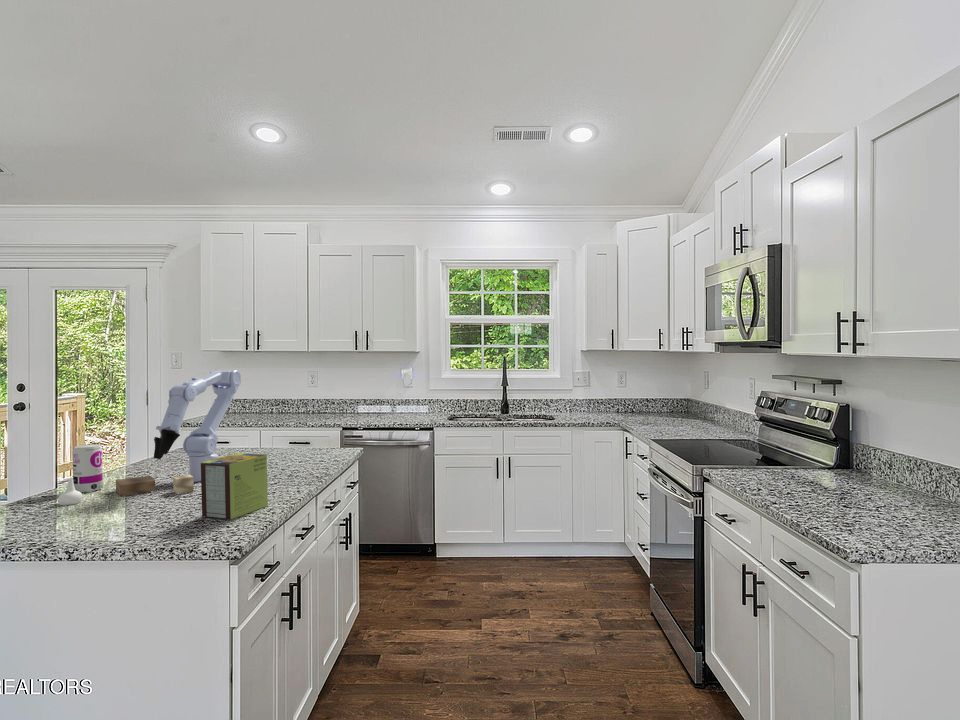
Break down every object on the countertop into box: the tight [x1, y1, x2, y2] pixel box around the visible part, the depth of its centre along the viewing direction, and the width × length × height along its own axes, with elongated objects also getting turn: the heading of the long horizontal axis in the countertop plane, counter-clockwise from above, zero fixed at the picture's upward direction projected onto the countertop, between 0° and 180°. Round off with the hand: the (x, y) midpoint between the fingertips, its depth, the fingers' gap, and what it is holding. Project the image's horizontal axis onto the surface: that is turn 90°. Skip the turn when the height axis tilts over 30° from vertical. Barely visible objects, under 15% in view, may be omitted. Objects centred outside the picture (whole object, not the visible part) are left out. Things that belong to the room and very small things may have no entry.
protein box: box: [200, 452, 269, 521], centre depth 165 cm, size 10×15×16 cm
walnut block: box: [115, 475, 156, 497], centre depth 191 cm, size 10×10×4 cm
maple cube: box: [172, 474, 195, 495], centre depth 189 cm, size 5×5×5 cm
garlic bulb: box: [57, 477, 84, 506], centre depth 177 cm, size 6×6×8 cm
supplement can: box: [72, 443, 104, 493], centre depth 193 cm, size 8×8×15 cm
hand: (160, 456), depth 188 cm, fingers open, 7 cm apart
